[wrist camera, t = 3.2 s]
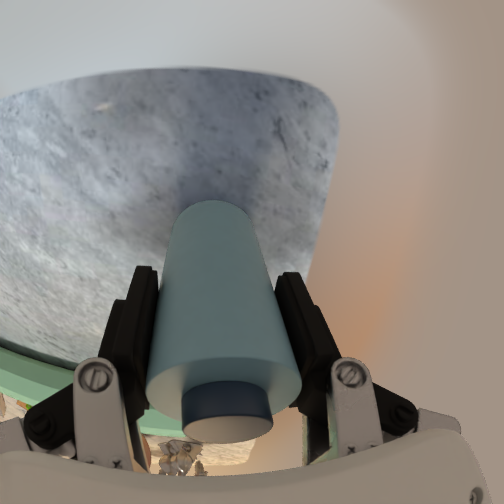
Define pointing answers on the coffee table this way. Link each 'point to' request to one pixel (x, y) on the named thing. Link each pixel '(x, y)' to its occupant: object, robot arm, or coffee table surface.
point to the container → (56, 378)
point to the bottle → (219, 331)
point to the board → (24, 405)
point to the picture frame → (2, 406)
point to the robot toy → (180, 458)
